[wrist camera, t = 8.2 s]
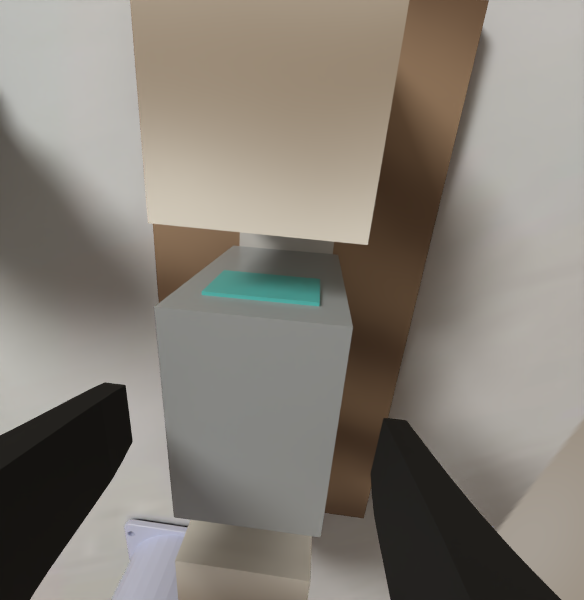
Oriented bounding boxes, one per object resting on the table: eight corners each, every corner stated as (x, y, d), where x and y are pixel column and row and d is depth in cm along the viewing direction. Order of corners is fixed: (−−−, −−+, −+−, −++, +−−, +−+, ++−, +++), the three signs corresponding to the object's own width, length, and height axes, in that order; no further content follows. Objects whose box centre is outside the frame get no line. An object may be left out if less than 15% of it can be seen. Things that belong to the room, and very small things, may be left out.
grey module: (321, 391, 16) (320, 537, 10) (233, 381, 16) (173, 517, 10) (338, 252, 14) (353, 322, 7) (233, 243, 14) (153, 303, 7)
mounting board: (361, 502, 21) (386, 702, 13) (179, 477, 21) (95, 652, 13) (475, 14, 11) (805, -335, 4) (149, -6, 12) (-171, -343, 4)
